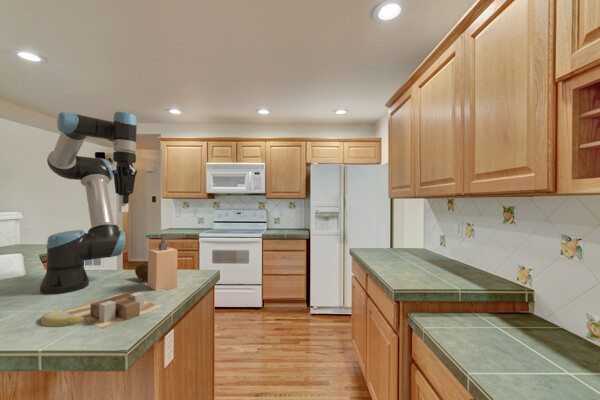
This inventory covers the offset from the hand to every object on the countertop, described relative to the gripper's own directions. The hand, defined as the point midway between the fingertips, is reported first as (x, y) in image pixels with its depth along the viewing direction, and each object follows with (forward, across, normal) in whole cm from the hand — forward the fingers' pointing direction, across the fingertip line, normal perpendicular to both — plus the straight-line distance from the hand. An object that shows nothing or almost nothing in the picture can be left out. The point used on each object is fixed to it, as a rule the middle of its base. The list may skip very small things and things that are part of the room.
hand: (123, 211), depth 105 cm
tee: (+31, +21, -12) cm, 40 cm away
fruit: (+33, +11, -23) cm, 41 cm away
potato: (+33, -8, +16) cm, 37 cm away
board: (+32, +15, -11) cm, 37 cm away
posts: (+31, +22, -12) cm, 40 cm away
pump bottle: (+33, +8, +14) cm, 36 cm away
